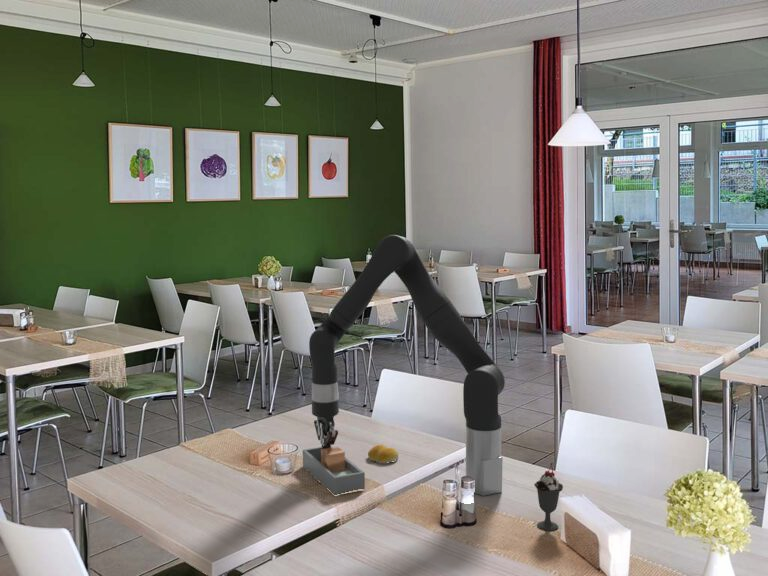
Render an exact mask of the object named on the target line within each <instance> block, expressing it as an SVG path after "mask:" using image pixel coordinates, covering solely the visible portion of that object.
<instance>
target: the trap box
mask: <svg viewBox="0 0 768 576" xmlns="http://www.w3.org/2000/svg"><path fill="white" fill-rule="evenodd" d="M331 448H333V446H332V445H331ZM321 449H322V446H317V447H312V448H307V449H302V468H304V469H305V470H306V469H307V470H308V471H309V472H310V473H311V474H312V475H313V476H314V477H313V476H312V475H311V474H310V473H309V472H308V471H307V470H306V471H307V472H308V473H309V474H310V475H311V476H312V477H313V478H315V477H316V478H315V480H317V479H318V480H319V481H320V482H321V483H322V484H323V485H324V486H325V487H326V488H328V489H329V490H330V491H331V492H332V493H333V494H334V495H337V494H341V493H345V492H349V491H353V490H358V489H365V490H366V486H365V482H366V481H365V480H366V479H365V478H366V475H365V471H364V470H362V469H361V468H360V467H358V466H357V465H356V464H355V463H353V462H352V461H351V460H349V459H348V458H347V457H346V456H345V470H341V471H335V472H330V471H329V470H328V469H327V468H326V467H325V466H324V465H322V464H321ZM318 480H317V481H318ZM319 481H318V482H319ZM320 482H319V483H320ZM321 483H320V484H321ZM322 484H321V485H322ZM323 485H322V486H323ZM324 486H323V487H324ZM325 487H324V488H325ZM326 488H325V489H326ZM332 493H331V494H332ZM333 494H332V495H333ZM334 495H333V496H334Z"/></svg>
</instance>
